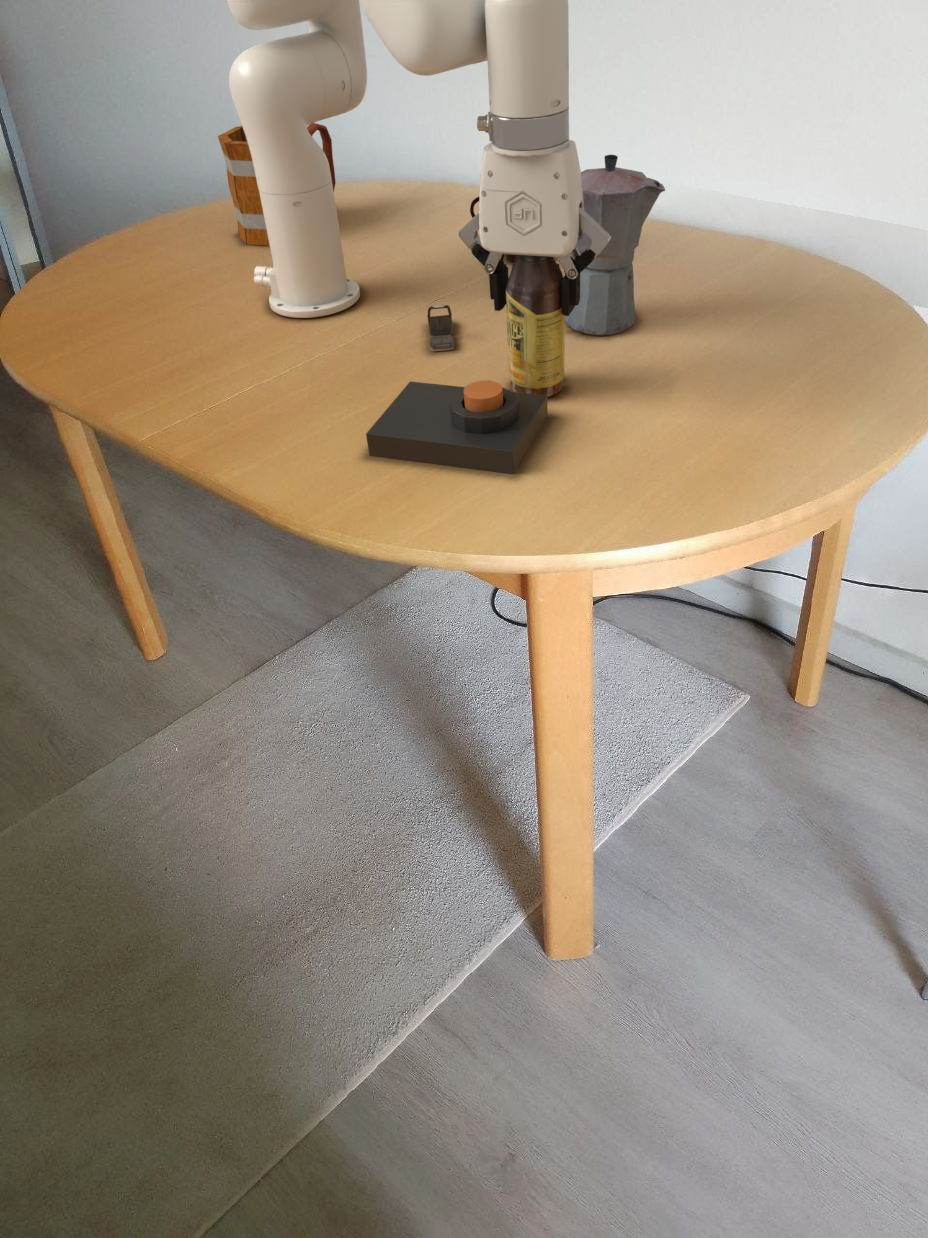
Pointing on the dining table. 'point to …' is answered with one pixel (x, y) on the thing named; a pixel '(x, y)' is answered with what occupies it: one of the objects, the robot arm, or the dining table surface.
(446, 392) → the grey push button box
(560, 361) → the sauce bottle
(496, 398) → the button
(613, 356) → the dining table surface
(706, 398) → the dining table surface
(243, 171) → the mug
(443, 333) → the strap clip
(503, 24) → the robot arm
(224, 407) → the dining table surface
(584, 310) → the moka pot
